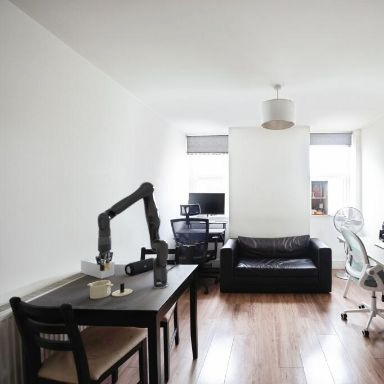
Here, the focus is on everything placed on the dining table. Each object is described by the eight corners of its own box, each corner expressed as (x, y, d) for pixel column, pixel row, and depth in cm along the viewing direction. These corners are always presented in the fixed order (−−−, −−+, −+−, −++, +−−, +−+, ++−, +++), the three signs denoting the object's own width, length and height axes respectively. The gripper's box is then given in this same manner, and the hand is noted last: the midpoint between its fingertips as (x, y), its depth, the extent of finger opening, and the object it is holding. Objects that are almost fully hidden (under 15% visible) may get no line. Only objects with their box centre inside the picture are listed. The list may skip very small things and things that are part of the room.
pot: (95, 292, 178) (95, 279, 178) (118, 293, 176) (117, 280, 176) (81, 298, 167) (81, 285, 167) (106, 300, 165) (105, 286, 165)
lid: (119, 290, 182) (119, 279, 182) (136, 290, 180) (136, 280, 180) (107, 297, 170) (107, 286, 170) (124, 297, 168) (124, 286, 168)
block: (103, 269, 172) (103, 263, 172) (109, 269, 171) (109, 263, 171) (99, 271, 168) (99, 264, 168) (105, 271, 167) (105, 264, 167)
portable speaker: (131, 277, 210) (131, 264, 210) (124, 275, 215) (123, 263, 215) (158, 269, 232) (158, 257, 232) (151, 267, 237) (150, 256, 237)
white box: (81, 272, 225) (80, 260, 225) (94, 269, 234) (94, 257, 234) (101, 278, 208) (100, 265, 208) (114, 275, 217) (114, 261, 217)
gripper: (102, 245, 162) (102, 273, 162) (117, 241, 176) (117, 267, 176) (91, 245, 163) (91, 273, 163) (106, 241, 177) (106, 266, 177)
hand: (104, 269), depth 169 cm, fingers closed on block, 4 cm apart
